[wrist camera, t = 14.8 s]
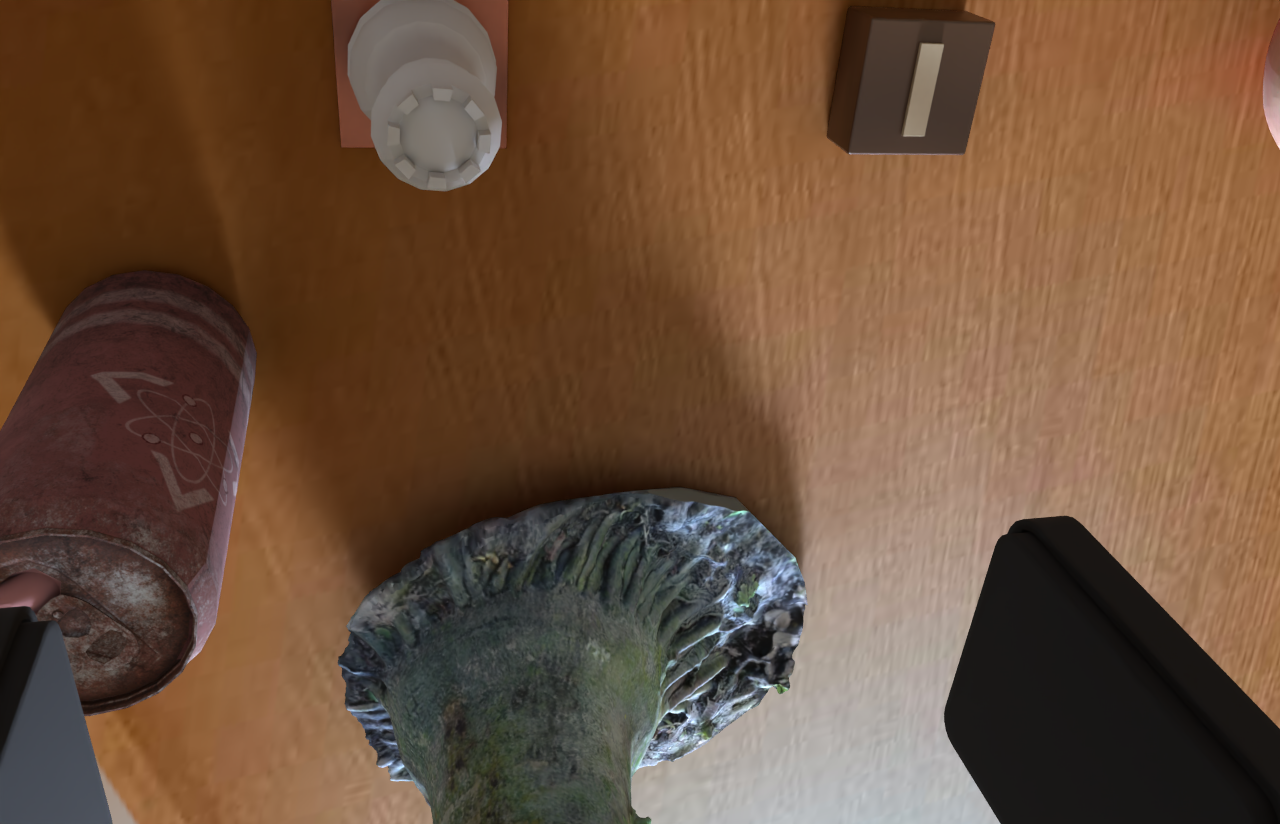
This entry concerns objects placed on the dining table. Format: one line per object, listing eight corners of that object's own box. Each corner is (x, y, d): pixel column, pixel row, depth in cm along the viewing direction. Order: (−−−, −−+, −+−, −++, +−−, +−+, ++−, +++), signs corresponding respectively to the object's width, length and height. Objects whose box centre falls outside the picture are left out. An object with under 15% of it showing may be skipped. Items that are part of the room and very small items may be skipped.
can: (50, 249, 33) (-117, 512, 21) (265, 279, 35) (221, 534, 23) (50, 415, 35) (-97, 729, 24) (249, 433, 38) (203, 731, 26)
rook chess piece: (397, 160, 34) (408, 257, 27) (316, 31, 31) (306, 103, 24) (520, 93, 33) (561, 173, 27) (447, -42, 31) (474, 9, 24)
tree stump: (702, 793, 54) (719, 1181, 39) (328, 671, 51) (180, 1044, 35) (880, 527, 46) (995, 881, 31) (451, 359, 43) (330, 662, 27)
